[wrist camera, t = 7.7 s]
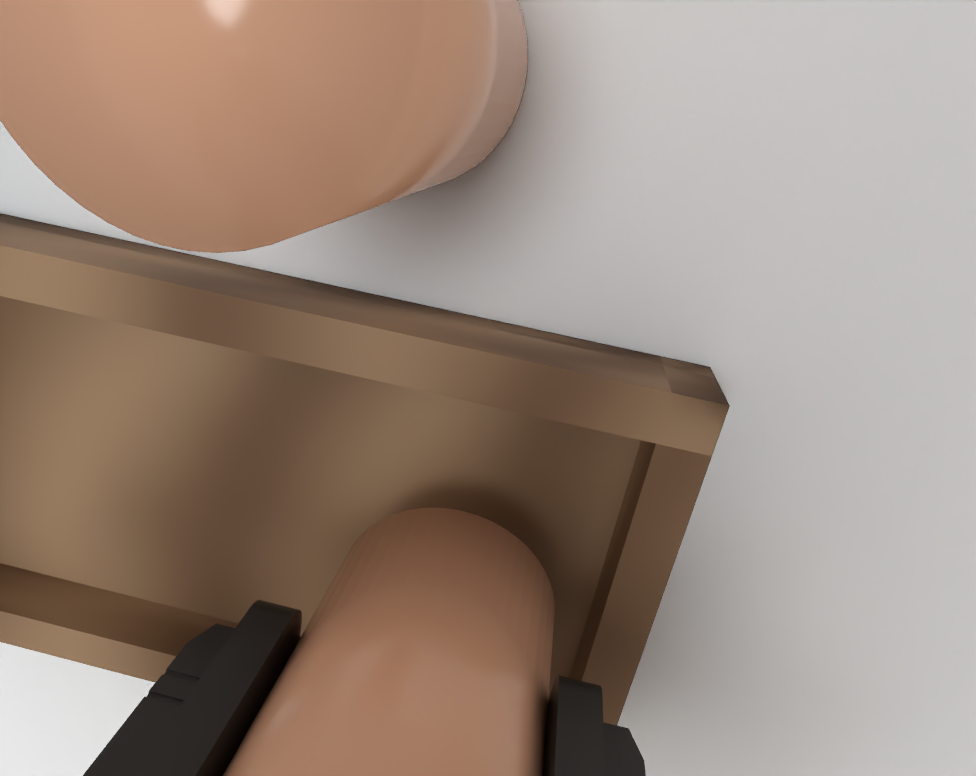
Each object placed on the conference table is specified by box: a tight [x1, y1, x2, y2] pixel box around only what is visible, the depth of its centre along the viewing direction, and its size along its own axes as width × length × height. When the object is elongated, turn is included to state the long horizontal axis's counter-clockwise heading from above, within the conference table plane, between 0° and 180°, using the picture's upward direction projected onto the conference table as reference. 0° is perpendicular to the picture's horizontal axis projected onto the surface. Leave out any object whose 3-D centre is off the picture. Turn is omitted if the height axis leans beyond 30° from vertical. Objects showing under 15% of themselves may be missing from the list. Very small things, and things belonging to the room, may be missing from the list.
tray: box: [0, 214, 730, 726], centre depth 15 cm, size 18×10×2 cm, turn 79°
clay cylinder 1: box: [0, 0, 528, 253], centre depth 9 cm, size 4×4×7 cm
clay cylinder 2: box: [223, 508, 555, 776], centre depth 10 cm, size 4×4×7 cm
